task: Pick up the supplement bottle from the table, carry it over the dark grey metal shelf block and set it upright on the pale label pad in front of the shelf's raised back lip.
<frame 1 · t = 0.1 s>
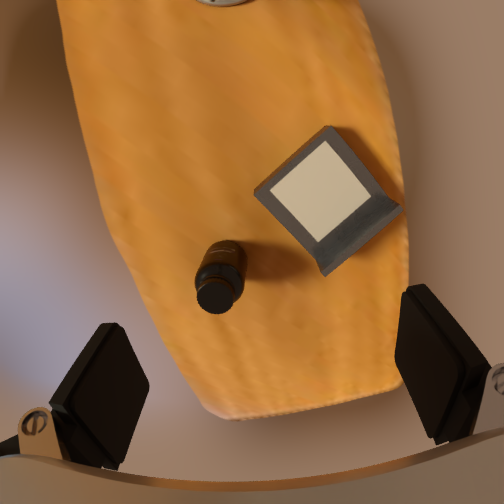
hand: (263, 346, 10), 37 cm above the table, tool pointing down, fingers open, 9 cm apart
shelf block: (321, 192, 45), on the table
supplement bottle: (226, 259, 49), on the table
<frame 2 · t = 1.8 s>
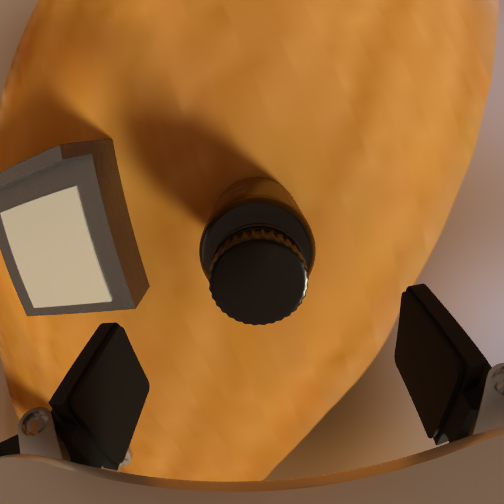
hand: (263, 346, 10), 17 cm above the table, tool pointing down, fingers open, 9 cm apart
shelf block: (69, 229, 26), on the table
supplement bottle: (256, 216, 26), on the table
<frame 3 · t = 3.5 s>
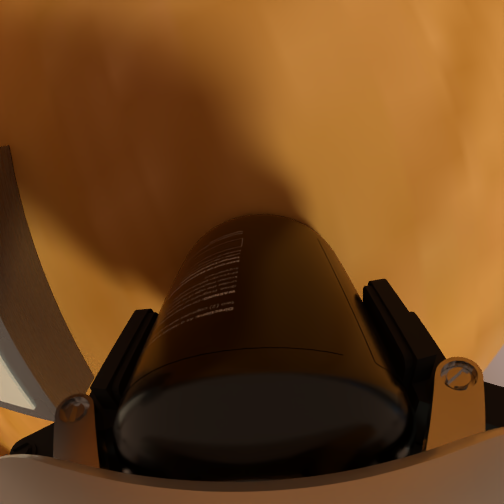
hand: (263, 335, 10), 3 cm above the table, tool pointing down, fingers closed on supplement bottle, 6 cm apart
supplement bottle: (263, 286, 13), on the table, touching gripper
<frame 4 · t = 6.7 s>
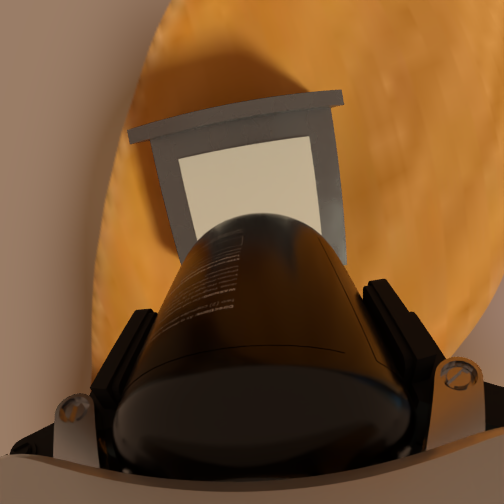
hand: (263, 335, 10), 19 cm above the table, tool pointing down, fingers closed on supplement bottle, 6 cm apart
shelf block: (253, 186, 27), on the table
supplement bottle: (263, 285, 13), point 16 cm above the table, touching gripper
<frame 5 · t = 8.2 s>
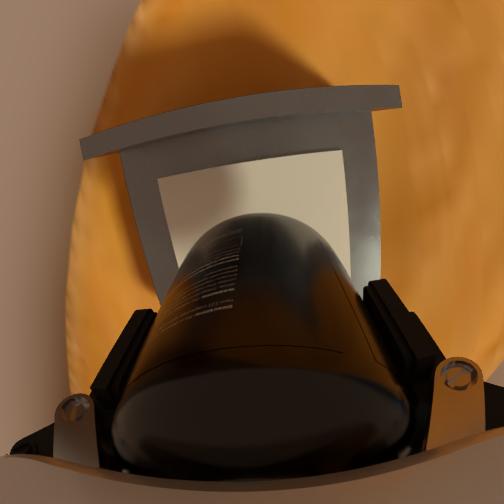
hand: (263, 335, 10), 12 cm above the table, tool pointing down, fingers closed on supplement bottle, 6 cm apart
shelf block: (259, 214, 21), on the table
supplement bottle: (263, 285, 13), point 9 cm above the table, touching gripper
when the fingers open (9 cm above the table, at t = 9.8 s): supplement bottle drops 1 cm, resting on shelf block.
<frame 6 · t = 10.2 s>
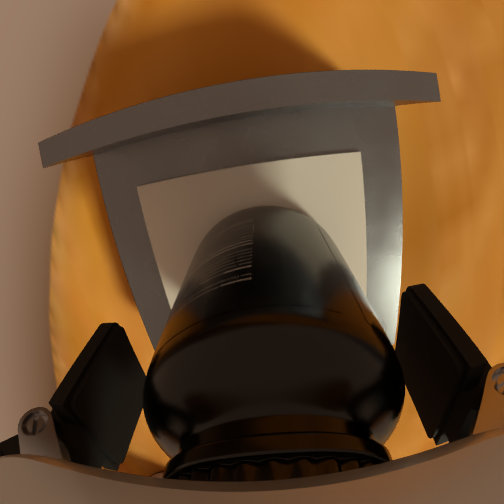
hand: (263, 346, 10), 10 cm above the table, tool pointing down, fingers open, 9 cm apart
shelf block: (260, 225, 18), on the table
supplement bottle: (268, 271, 15), point 4 cm above the table, touching shelf block
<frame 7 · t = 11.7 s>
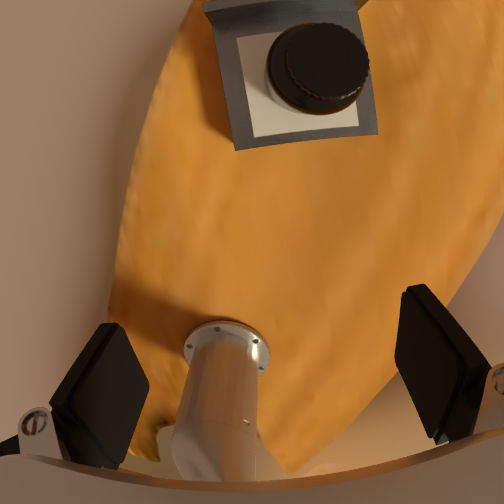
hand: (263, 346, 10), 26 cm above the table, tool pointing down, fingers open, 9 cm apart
shelf block: (293, 74, 28), on the table
supplement bottle: (301, 79, 25), point 4 cm above the table, touching shelf block
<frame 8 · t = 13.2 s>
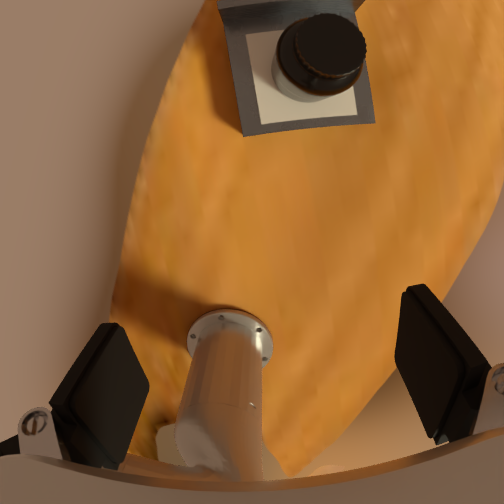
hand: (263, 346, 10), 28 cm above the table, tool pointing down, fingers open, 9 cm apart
shelf block: (296, 70, 30), on the table
supplement bottle: (304, 72, 27), point 4 cm above the table, touching shelf block
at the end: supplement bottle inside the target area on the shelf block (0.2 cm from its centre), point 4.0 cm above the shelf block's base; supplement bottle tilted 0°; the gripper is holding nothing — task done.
